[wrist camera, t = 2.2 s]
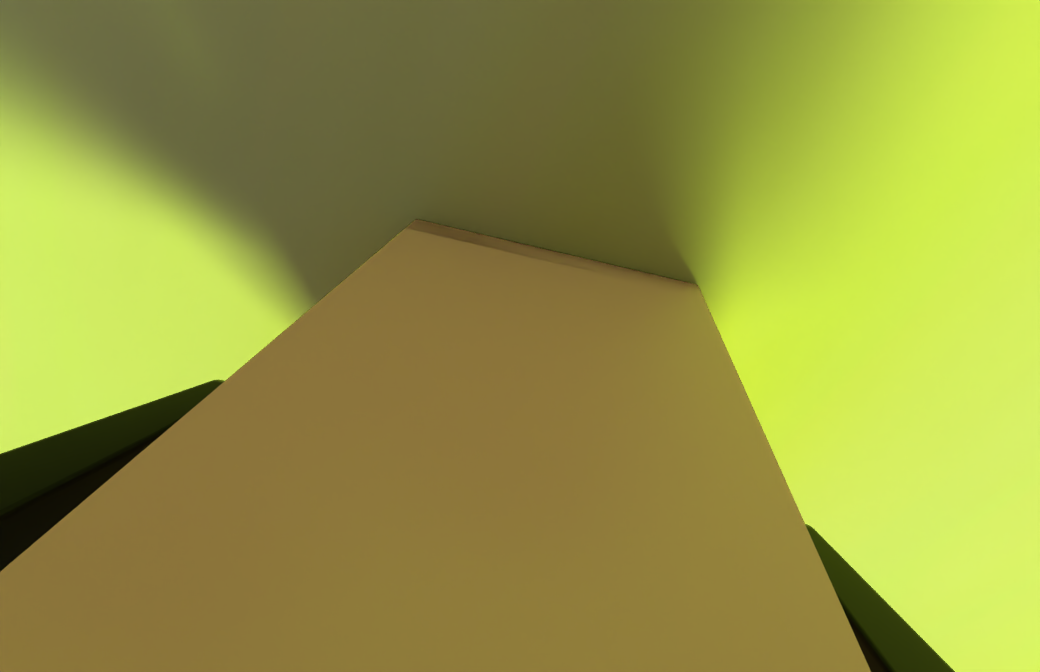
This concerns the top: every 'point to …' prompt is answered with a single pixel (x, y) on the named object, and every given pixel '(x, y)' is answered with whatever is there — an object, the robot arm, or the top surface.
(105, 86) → the top surface
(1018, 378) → the top surface
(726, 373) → the terracotta cup
